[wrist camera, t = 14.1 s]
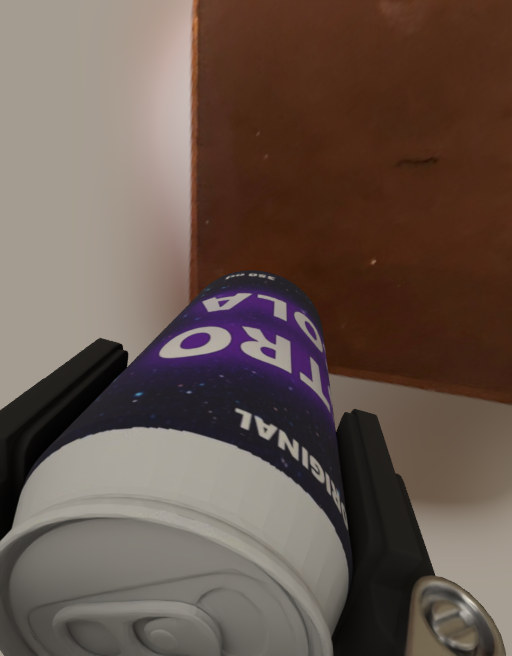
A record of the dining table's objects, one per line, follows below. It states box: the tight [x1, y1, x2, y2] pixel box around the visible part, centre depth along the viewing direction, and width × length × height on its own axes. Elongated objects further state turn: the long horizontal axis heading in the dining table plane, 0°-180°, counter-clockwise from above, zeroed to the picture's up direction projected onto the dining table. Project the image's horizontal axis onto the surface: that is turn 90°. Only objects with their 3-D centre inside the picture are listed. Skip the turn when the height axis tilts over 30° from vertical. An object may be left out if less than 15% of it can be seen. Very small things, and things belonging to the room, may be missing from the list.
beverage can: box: [0, 271, 353, 656], centre depth 11 cm, size 6×6×12 cm
